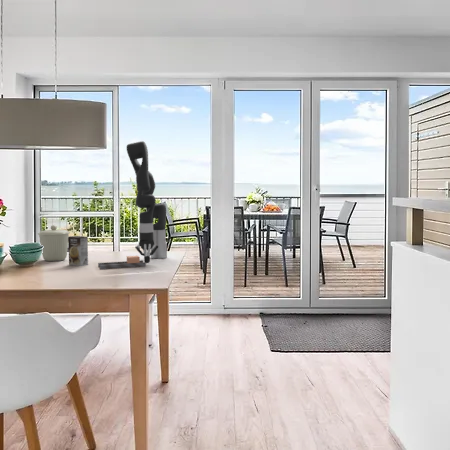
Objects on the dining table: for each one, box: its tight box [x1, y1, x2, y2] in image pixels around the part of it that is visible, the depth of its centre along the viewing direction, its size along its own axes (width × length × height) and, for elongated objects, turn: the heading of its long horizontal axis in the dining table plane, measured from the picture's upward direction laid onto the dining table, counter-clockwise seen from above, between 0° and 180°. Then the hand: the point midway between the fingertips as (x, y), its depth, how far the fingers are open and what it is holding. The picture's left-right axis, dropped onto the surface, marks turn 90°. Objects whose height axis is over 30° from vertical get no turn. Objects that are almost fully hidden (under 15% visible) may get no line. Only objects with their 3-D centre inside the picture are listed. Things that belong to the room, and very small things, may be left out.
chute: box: [97, 259, 147, 270], centre depth 272 cm, size 24×10×3 cm, turn 110°
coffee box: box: [68, 235, 89, 267], centre depth 285 cm, size 9×6×16 cm
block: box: [126, 255, 141, 263], centre depth 274 cm, size 6×6×5 cm
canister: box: [37, 224, 70, 262], centre depth 304 cm, size 18×18×21 cm
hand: (147, 263), depth 276 cm, fingers closed
